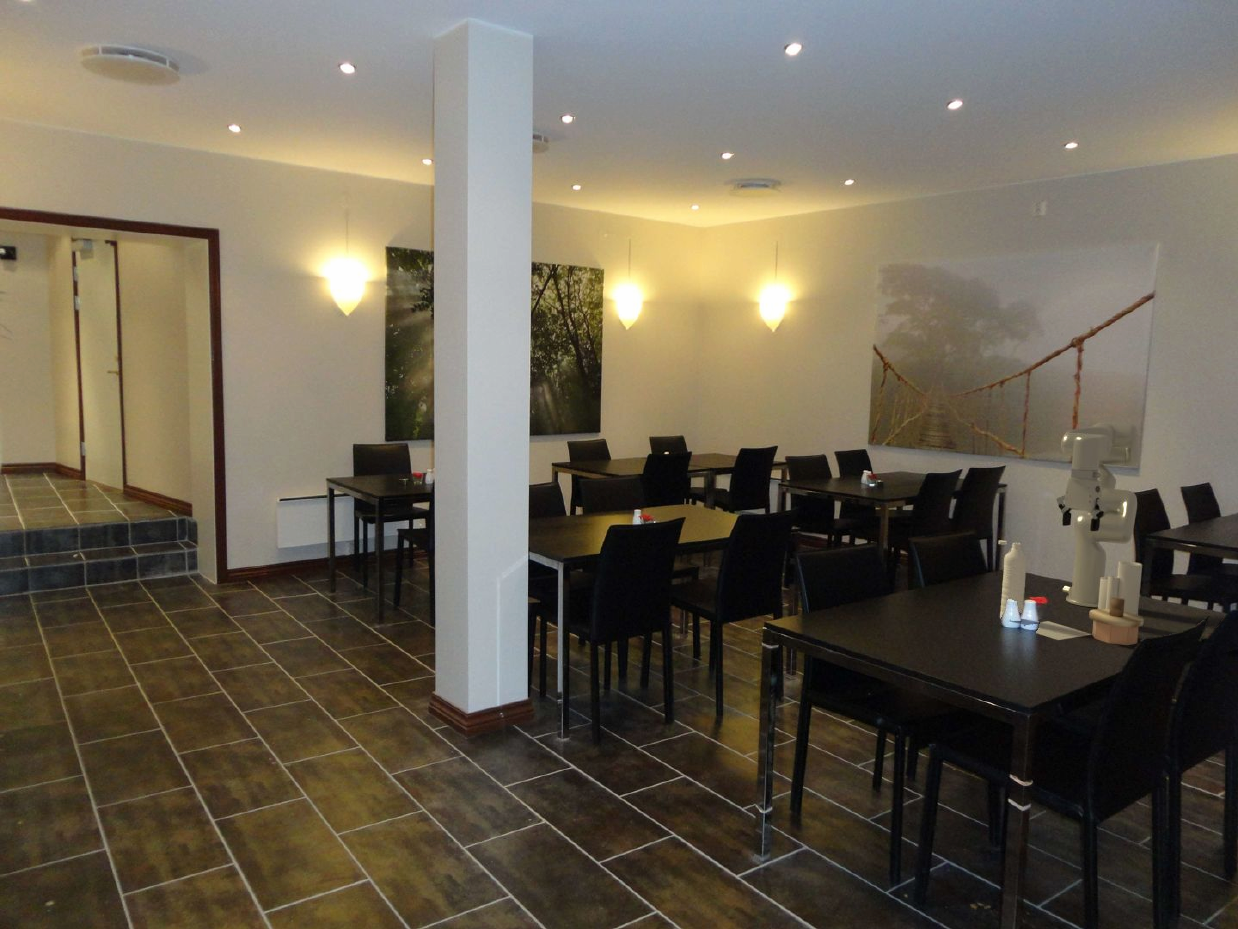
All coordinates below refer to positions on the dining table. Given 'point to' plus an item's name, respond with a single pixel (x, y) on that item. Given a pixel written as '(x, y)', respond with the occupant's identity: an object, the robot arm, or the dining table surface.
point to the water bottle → (1013, 576)
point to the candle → (1122, 587)
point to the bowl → (1115, 634)
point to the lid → (1116, 615)
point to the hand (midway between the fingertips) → (1080, 528)
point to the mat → (1058, 631)
